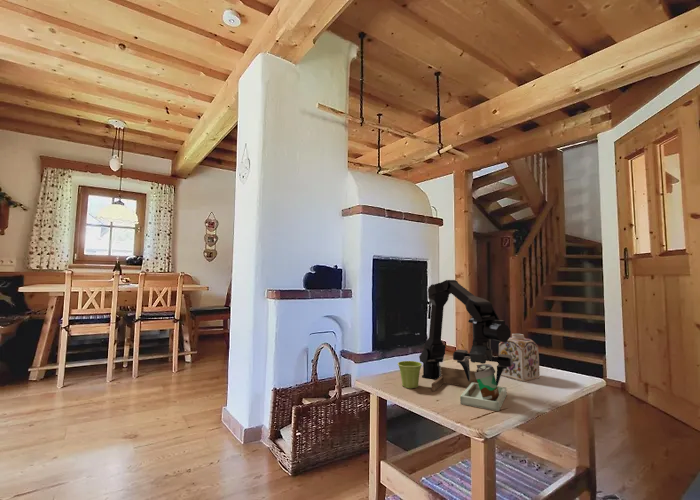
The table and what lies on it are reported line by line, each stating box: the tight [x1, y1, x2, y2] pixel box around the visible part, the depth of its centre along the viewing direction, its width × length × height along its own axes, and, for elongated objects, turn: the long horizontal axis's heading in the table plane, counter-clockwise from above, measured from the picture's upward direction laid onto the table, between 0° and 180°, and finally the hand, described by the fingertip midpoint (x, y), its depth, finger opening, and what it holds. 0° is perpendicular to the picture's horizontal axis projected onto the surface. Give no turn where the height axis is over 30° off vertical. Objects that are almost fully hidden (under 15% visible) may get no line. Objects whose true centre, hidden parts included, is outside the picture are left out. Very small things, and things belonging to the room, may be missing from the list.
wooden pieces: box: [431, 366, 478, 396], centre depth 131 cm, size 14×13×6 cm
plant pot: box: [397, 360, 423, 389], centre depth 135 cm, size 9×9×9 cm
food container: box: [475, 363, 499, 401], centre depth 120 cm, size 12×6×10 cm, turn 157°
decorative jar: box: [498, 333, 541, 383], centre depth 149 cm, size 12×12×18 cm
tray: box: [459, 382, 508, 412], centre depth 121 cm, size 12×18×3 cm, turn 149°
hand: (482, 383), depth 119 cm, fingers open, 9 cm apart
